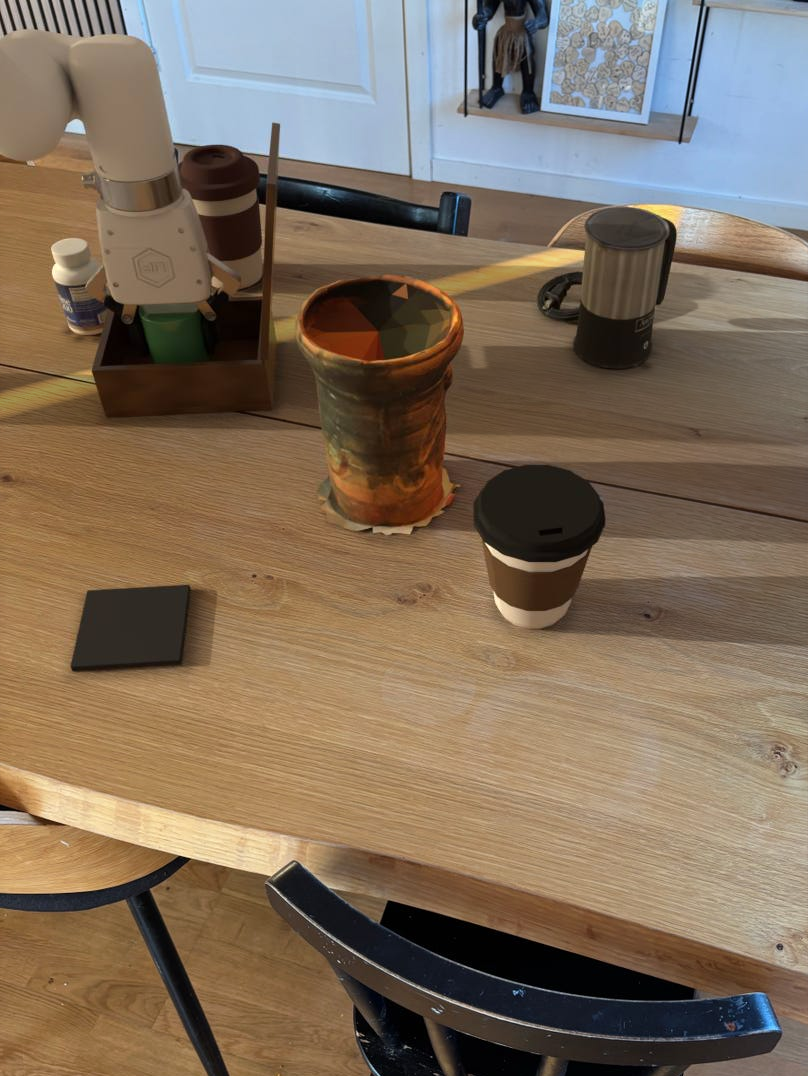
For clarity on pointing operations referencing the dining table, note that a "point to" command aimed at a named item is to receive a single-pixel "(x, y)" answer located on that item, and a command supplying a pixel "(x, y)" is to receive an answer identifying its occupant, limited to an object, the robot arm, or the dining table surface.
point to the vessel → (382, 397)
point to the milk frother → (616, 286)
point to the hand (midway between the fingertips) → (179, 347)
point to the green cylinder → (174, 333)
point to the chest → (189, 370)
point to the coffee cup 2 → (537, 539)
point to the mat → (132, 628)
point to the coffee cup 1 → (226, 207)
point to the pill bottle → (77, 286)
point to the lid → (269, 239)
